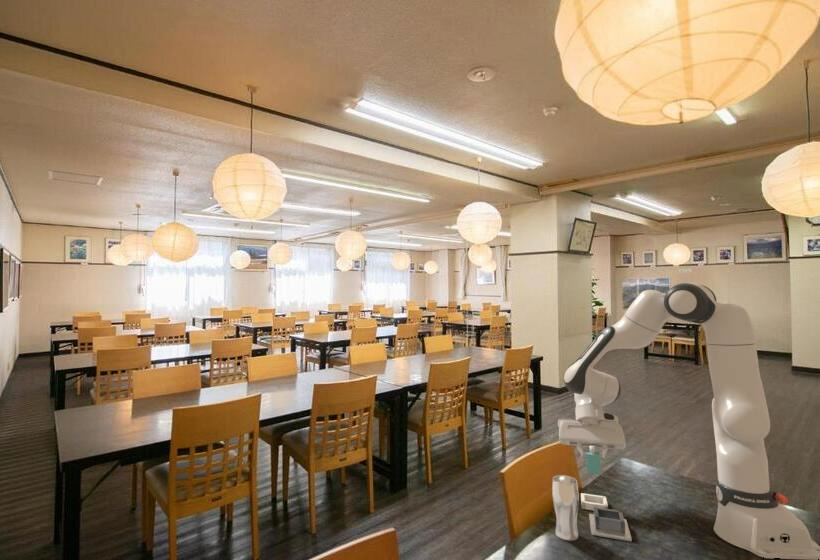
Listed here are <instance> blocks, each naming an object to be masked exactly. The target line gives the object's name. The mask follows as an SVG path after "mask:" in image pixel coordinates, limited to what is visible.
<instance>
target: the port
mask: <svg viewBox="0 0 820 560" xmlns="http://www.w3.org/2000/svg"><path fill="white" fill-rule="evenodd" d="M623 514H624V513H623V510H617V509H610V508H608V509H605V508H598V507H594V511H593V513H588V518H589V526H590V533H591V535H590V536H595V537H601V538H602V537H603V538H608V539H615V540H619V541H625V542H631V543H632V535H631V531H630V529H629V525H628V522H627V519H626V518H624V515H623Z"/></svg>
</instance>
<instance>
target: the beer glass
mask: <svg viewBox="0 0 820 560" xmlns="http://www.w3.org/2000/svg"><path fill="white" fill-rule="evenodd" d="M551 489H552V494H551V495H552V501H553V503H552V504H553V508H554V513H555V517H556V518H555V519H556V523H555V524H556V525H555V535H556V536H557V537H558V538H559V539H561V540H565V541H567V542H570V541H571V542H572V541H576V540H578V539H579V535H580V534H579V531H578V530H579V529H578V525H577V524H578V523H577V521H578V519H577V518H578V512H579V503H580V501H579V500H580V499H579V496H580V495H579V493H580V492H579V486H578V480H577V479H576V478H575V477H572V476H569V475H565V474H558V475H554V476H553V477H552V488H551Z"/></svg>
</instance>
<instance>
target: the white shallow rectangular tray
mask: <svg viewBox="0 0 820 560" xmlns="http://www.w3.org/2000/svg"><path fill="white" fill-rule="evenodd" d="M580 501H581V502H580V503H581V504H580V505H581V509H582V510H588V511H593V512H594V507H598V508H605V509H609V504H608V501H607V496H604V495H598V494H597V495H596V494H591V493H590V494H589V493H585V492H584V493H583V492H581V493H580Z"/></svg>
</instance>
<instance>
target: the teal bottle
mask: <svg viewBox="0 0 820 560" xmlns="http://www.w3.org/2000/svg"><path fill="white" fill-rule="evenodd" d="M585 451H586V459H585V463H586V465H585V466H586V474H590V475H591V474H592V475H599V476H601V475H602V472H601V471H602V469H601V460H600V454H599V453H600V452H599V451H596V447H595V446H589V450H585Z"/></svg>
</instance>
